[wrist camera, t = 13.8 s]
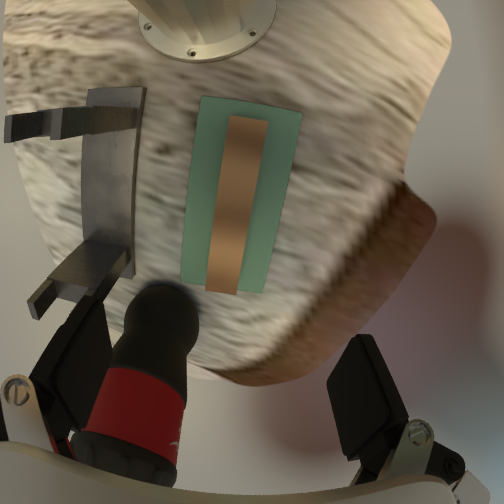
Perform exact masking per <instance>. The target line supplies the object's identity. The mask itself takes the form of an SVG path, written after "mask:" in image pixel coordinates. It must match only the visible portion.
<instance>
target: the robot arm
mask: <svg viewBox="0 0 504 504" xmlns="http://www.w3.org/2000/svg"><path fill="white" fill-rule="evenodd" d="M128 1H129V2H130V3H131V4H132V5H133V6H134V7H135V8H136V9H138V10H139V13H138V22H139V27H140V30H141V33H142V35H143V36H144V38H145V40H146V41H147V42H148V43H149V44H150V45H151V46H152V47H153V48H154V49H155V50H157V51H158V52H160V53H161V54H163V55H165V56H167V57H170V58H172V59H176V60H179V61H184V62H194V63H199V62H212V61H217V60H222V59H225V58H228V57H231V56H234V55H236V54H238V53H240V52H242V51H244V50H246V49H248V48H249V47H251V46H252V45H253V44H255V43H256V42H257V41H258V40H259V39H260V38H261V37H262V36H263V35H264V34H265V33H266V31H267V30H268V28H269V27H270V25H271V23H272V21H273V18H274V15H275V11H276V0H128ZM150 27H152V28H151V29H150V30H149V28H150ZM250 33H255V36H250ZM194 52H195V53H196V55H195V56H193V57H192V56H191V54H192V53H194ZM112 358H113V350H112V345H111V341H110V336H109V331H108V326H107V320H106V314H105V308H104V304H103V303H101V302H100V299H99V298H96V297H92V296H88V295H84V296H83V297H82V298H81V300H80V301H79V303H78V304H77V305H76V307H75V308H74V310H73V311H72V313H71V314H70V315H69V317H68V318H67V320H66V322H65V323H64V324H63V325H61V326H60V327H59V328H58V330H57V331H56V333H55V334H54V336H53V338H52V339H51V341H50V342H49V344H48V345H47V347H46V349H45V350H44V352H43V354H42V355H41V357H40V359H39V360H38V362H37V364H36V366H35V367H34V369H33V370H32V372H31V374H30V376H29V378H27V377H26V376H24V375H20V374H17V375H12V376H10V377H8V378H7V379H6V380H5V381H4V382H3V384H2V386H1V389H0V504H488V503H489V501H490V493H489V491H488V490H487V488H486V487H485V486H484V485H483V484H482V483H481V482H480V481H479V480H478V479H477V478H476V477H475V476H474V475H473V474H472V473H471V472H470V471H469V470H466V471H465V462H464V460H463V458H462V457H461V456H460V455H459V454H458V453H456V452H454V451H452V450H450V449H448V448H446V447H445V446H443V445H441V444H439V443H437V442H435V441H434V432H433V430H432V428H431V426H430V425H429V424H428V423H427V422H425V421H423V420H420V419H413V420H411V421H410V422H409V421H408V417H409V415H408V413H407V411H406V408H405V406H404V404H403V401H402V399H401V397H400V394H399V392H398V390H397V387H396V385H395V383H394V381H393V378H392V376H391V374H390V372H389V370H388V368H387V365H386V363H385V361H384V359H383V357H382V355H381V353H380V350H379V349H378V347H377V344H376V342H375V340H374V338H373V336H372V335H370V334H357V335H355V337H353V338H351V340H350V341H349V343H348V345H347V347H346V349H345V350H344V352H343V354H342V356H341V358H340V360H339V361H338V363H337V364H336V366H335V368H334V370H333V371H332V373H331V374H330V376H329V378H328V380H327V390H328V394H329V398H330V402H331V406H332V410H333V413H334V418H335V422H336V426H337V430H338V435H339V439H340V443H341V447H342V451H343V454H344V455H345V456H347V460H348V461H353V460H359V459H360V462H361V466H360V468H359V469H358V471H357V473H356V475H355V476H354V478H353V480H352V481H351V483H350V485H349V486H348V487H344V488H337V489H331V490H325V491H316V492H308V493H297V494H281V495H232V494H216V493H205V492H196V491H189V490H182V489H175V488H170V487H164V486H159V485H154V484H150V483H145V482H141V481H137V480H133V479H129V478H126V477H122V476H119V475H115V474H112V473H109V472H106V471H102V470H99V469H96V468H93V467H90V466H88V465H85V464H82V463H80V462H78V460H77V458H76V456H75V454H74V452H73V449H72V447H71V445H70V442H69V440H68V436H69V433H70V430H71V431H74V432H76V433H79V434H80V432H81V429H82V428H83V429H85V428H86V426H87V424H88V421H89V418H90V415H91V412H92V410H93V407H94V404H95V401H96V399H97V396H98V393H99V391H100V388H101V386H102V383H103V381H104V378H105V376H106V373H107V371H108V368H109V366H110V364H111V361H112Z"/></svg>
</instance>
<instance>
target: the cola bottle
mask: <svg viewBox="0 0 504 504" xmlns="http://www.w3.org/2000/svg"><path fill="white" fill-rule="evenodd" d="M198 333H199V319H198V314H197V311H196V308H195V306H194V304H193V303H192V301H191V300H190V299H189V298H188V297H187V296H186V295H185V294H184V293H182V292H181V291H179V290H177V289H175V288H172V287H168V286H153V287H149V288H147V289H145V290H143V291H142V292H140V293H139V294H138V295H137V296H136V297H135V298H134V299H133V300H132V301H131V303H130V304H129V306H128V308H127V310H126V314H125V318H124V333H123V334H122V336H121V337H120V339H119V340H118V341H117V343H116V344H115V345H114V347H113V348H112V350H113V358H112V361H111V364H110V366H109V368H108V371H107V373H106V376H105V378H104V381H103V383H102V386H101V388H100V391H99V393H98V396H97V399H96V401H95V404H94V407H93V410H92V412H91V415H90V418H89V421H88V424H87V426H86V428H85V429H83V428H82V429H81V432H80V434H79V433H76V432H75V433H74V434H73V435H72V437H71V440H70V445H71V447H72V449H73V452H74V454H75V456H76V458H77V460H78V462H80V463H82V464H85V465H88V466H90V467H93V468H96V469H99V470H102V471H106V472H109V473H112V474H115V475H119V476H122V477H126V478H129V479H133V480H137V481H141V482H145V483H150V484H154V485H159V486H164V487H170V488H172V487H173V485H174V484H175V482H176V477H177V469H176V463H177V454H178V448H179V439H180V433H181V426H182V419H183V413H184V409H185V407H186V403H187V359H186V358H187V355H188V353H189V352H190V351H191V349H192V348H193V346H194V345H195V343H196V340H197V338H198Z"/></svg>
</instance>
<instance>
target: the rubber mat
mask: <svg viewBox="0 0 504 504" xmlns="http://www.w3.org/2000/svg"><path fill="white" fill-rule="evenodd" d="M230 115H232V116H239V117H245V118H251V119H257V120H263V121H268V126H267V131H266V137H265V142H264V147H263V152H262V157H261V163H260V168H259V173H258V178H257V184H256V189H255V194H254V199H253V205H252V210H251V215H250V221H249V226H248V232H247V237H246V242H245V248H244V253H243V259H242V264H241V270H240V275H239V281H238V286H237V290H239V291H247V292H254V293H262V291H263V287H264V283H265V279H266V275H267V271H268V266H269V262H270V258H271V254H272V250H273V245H274V241H275V237H276V233H277V228H278V224H279V220H280V215H281V211H282V207H283V202H284V198H285V193H286V189H287V185H288V180H289V176H290V171H291V167H292V162H293V157H294V153H295V148H296V144H297V139H298V134H299V130H300V125H301V120H302V115H303V113H300V112H295V111H291V110H287V109H282V108H277V107H272V106H267V105H262V104H256V103H250V102H244V101H238V100H231V99H224V98H216V97H207V96H202V97H201V102H200V108H199V114H198V120H197V126H196V132H195V139H194V145H193V152H192V160H191V167H190V175H189V183H188V192H187V201H186V211H185V221H184V232H183V245H182V258H181V274H180V282H186V283H192V284H198V285H205V286H206V277H207V268H208V259H209V251H210V243H211V235H212V227H213V219H214V212H215V205H216V198H217V191H218V184H219V177H220V171H221V164H222V158H223V152H224V146H225V140H226V134H227V128H228V122H229V117H230Z"/></svg>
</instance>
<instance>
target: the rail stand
mask: <svg viewBox="0 0 504 504" xmlns="http://www.w3.org/2000/svg"><path fill="white" fill-rule="evenodd" d="M145 94H146V88H144V87H116V88H96V89H88V95H87V102H86V106H81V107H68V108H57V109H48V110H40V111H37V112H31V113H22V114H15V115H9V116H5V127H4V143H11V142H15V141H19V140H23V139H27V138H32V137H45V136H50V140H61V139H66V138H71V137H76V136H81V135H83V141H82V161H81V205H82V225H83V238H84V242H83V243H81V244H80V245H79V246H78V247H77V248H76V249H75V250H74V251H73V252H72V253H71V254H70V255H69V256H68V257H67V258H66V259H65V260H64V261H63V262H62V263H61V264H60V265H59V266H58V267H57V268H56V269H55V270H54V271H53V272H52V273H51V274H50V275H49V276H48V277H47V279H46V280H45V281H44V282H43V283H42V285H41V286H40V287H39V288H38V289H37V290H36V291H35V292H34V293H33V294H32V296H31V297H30V298H29V299H28V300H27V304H28V307H29V310H30V312H31V316H32V318H33V319H36V320H40V318H41V317H42V316H43V314H44V313H45V312H46V311H47V309H48V308H49V307H50V305H51V304H52V303H53V302H54V300H55V299H56V298H61V299H65V300H68V301H72V302H75V303H77V304H78V303H79V301H80V300H81V298H82V297H83V296H84V295H88V296H92V297H96V298H99V299H100V302H101V303H103V301H104V300H105V298H106V297H107V295H108V293H109V292H110V290H111V289H112V287H113V286H114V284H115V283H116V281H117V280H118V278H119V277H123V278H128V279H133V277H134V275H135V263H134V207H135V184H136V169H137V157H138V146H139V137H140V128H141V120H142V113H143V106H144V100H145ZM77 304H76V305H77ZM75 307H76V306H75ZM75 307H74V308H75ZM73 310H74V309H73ZM73 310H72V311H73ZM72 311H71V313H72ZM71 313H70V314H71ZM70 314H69V315H70Z"/></svg>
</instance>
